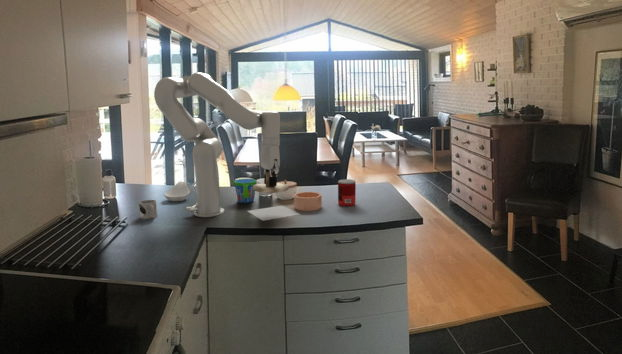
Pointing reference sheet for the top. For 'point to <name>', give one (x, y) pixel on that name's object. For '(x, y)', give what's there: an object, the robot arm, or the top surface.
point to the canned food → (346, 192)
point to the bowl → (307, 201)
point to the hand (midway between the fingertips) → (270, 184)
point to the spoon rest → (178, 192)
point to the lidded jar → (289, 193)
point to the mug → (148, 209)
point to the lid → (266, 188)
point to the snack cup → (245, 190)
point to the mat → (273, 213)
